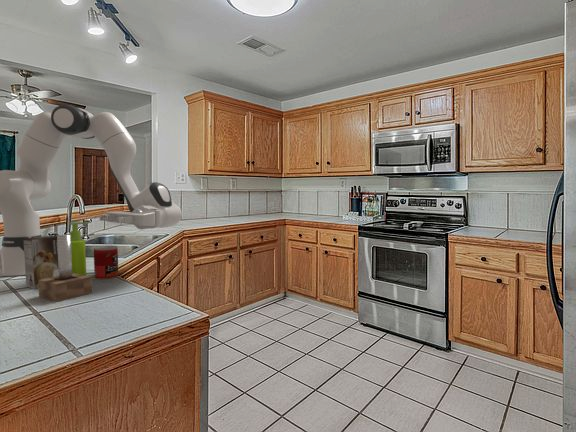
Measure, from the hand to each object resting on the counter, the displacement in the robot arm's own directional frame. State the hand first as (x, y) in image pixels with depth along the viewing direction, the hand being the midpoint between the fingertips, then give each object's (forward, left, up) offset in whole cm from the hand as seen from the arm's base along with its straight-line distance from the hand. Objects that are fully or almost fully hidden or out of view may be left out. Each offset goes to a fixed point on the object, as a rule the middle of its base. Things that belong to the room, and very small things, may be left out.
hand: (109, 219), depth 116 cm
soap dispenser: (-19, 0, -22) cm, 29 cm away
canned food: (-10, +5, -22) cm, 24 cm away
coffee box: (-17, -12, -22) cm, 30 cm away
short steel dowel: (-11, -11, -22) cm, 27 cm away
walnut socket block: (+1, -15, -22) cm, 27 cm away
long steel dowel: (+1, -15, -22) cm, 27 cm away
